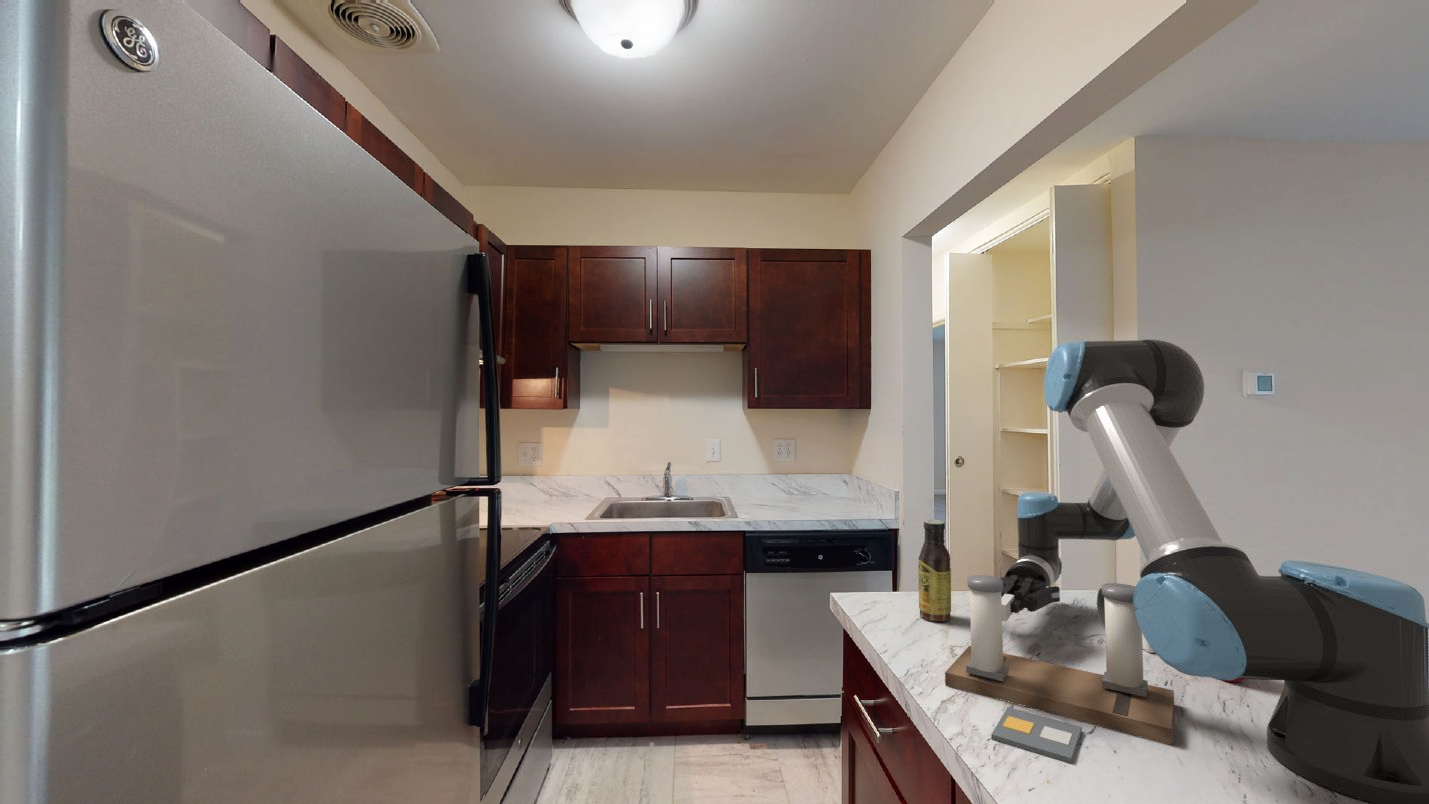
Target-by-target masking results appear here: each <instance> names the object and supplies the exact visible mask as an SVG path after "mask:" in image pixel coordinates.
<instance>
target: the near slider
mask: <svg viewBox="0 0 1429 804" xmlns="http://www.w3.org/2000/svg"><path fill="white" fill-rule="evenodd" d="M1135 586H1136V585H1131V584H1124V583H1115V582H1113V583H1112V582H1109V583H1103V584H1101V587H1102V595H1103V596H1104V601H1105V628H1104V630H1105V631H1104V632H1105V663H1106V664H1105V665H1106V666H1105V667H1106V668H1105V670H1106V671H1104V673H1103V674H1102V675H1103V679H1102V687H1103V688H1108V689H1112V690H1116V691H1121V692H1125V693H1129V694H1134V695H1138V696H1143V697H1147V691H1148V685H1149V681H1148V680H1146V679H1144V652H1143V650H1144V649H1143V645H1142V631H1141V629H1140V627H1139V624H1138V621H1137V618H1136V614H1135V611H1137V608H1136V606H1135V605H1134V602H1133V595H1134V590H1135Z"/></svg>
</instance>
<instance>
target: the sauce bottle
mask: <svg viewBox="0 0 1429 804" xmlns="http://www.w3.org/2000/svg"><path fill="white" fill-rule="evenodd" d="M923 528H924V542H923V544H922V547H921V549H920V554H919V556H918V608H919V615H920V617H921V618H922V619H924V620H927V621H929V622H937V623H938V622H942V623H943V622H947V621H950V619H951V613H952V568H951V554H950V553H949V550H948V548H947V547H946V546H945V530H946V523H945V521H943V520H940V519H927V520H924V521H923Z"/></svg>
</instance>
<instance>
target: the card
mask: <svg viewBox="0 0 1429 804" xmlns="http://www.w3.org/2000/svg"><path fill="white" fill-rule="evenodd" d="M1082 728H1083V727H1082V726H1081V725H1077V724H1074V723H1070V722H1067V721H1062V720H1058V719H1055V718H1050V717H1049V716H1048V717H1047V716H1043V715H1041V714H1036V713H1032V712H1030V711H1025V710H1021V709H1018V708H1014V707H1010V706H1007V708H1006V709H1005V711H1004V712H1003V714H1002V716H1001V718H1000V719H999V720H998V722H997V724H996V726H995V727H994V729H993V731H992V732H991V736H990V737H991V740H993V741H997V742H1000V743H1003V744H1007V745H1010V746H1013V747H1016V748H1019V749H1020V748H1021V749H1022V750H1026V751H1030V752H1033V753H1037V754H1039V755H1042V756H1046V757H1049V758H1052V759H1056V760H1059V761H1063V762H1066V763H1069V764H1072V763H1073V759H1074V756H1075V753H1076V750H1077V747H1078V744H1079V741H1080V738H1081V736H1082V731H1083V729H1082Z"/></svg>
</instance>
